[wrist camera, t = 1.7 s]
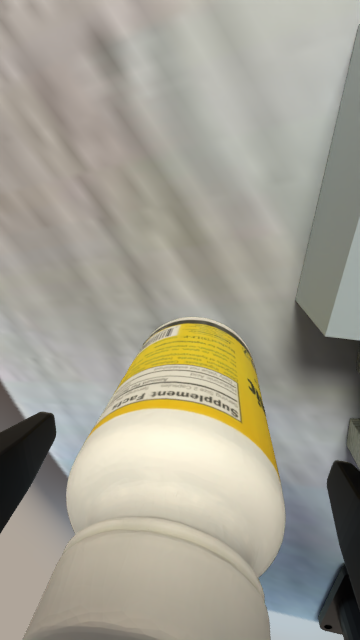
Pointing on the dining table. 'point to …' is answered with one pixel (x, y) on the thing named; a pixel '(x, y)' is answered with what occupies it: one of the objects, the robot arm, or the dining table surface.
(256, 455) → the supplement bottle
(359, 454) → the shaft
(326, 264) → the housing
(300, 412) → the dining table surface
